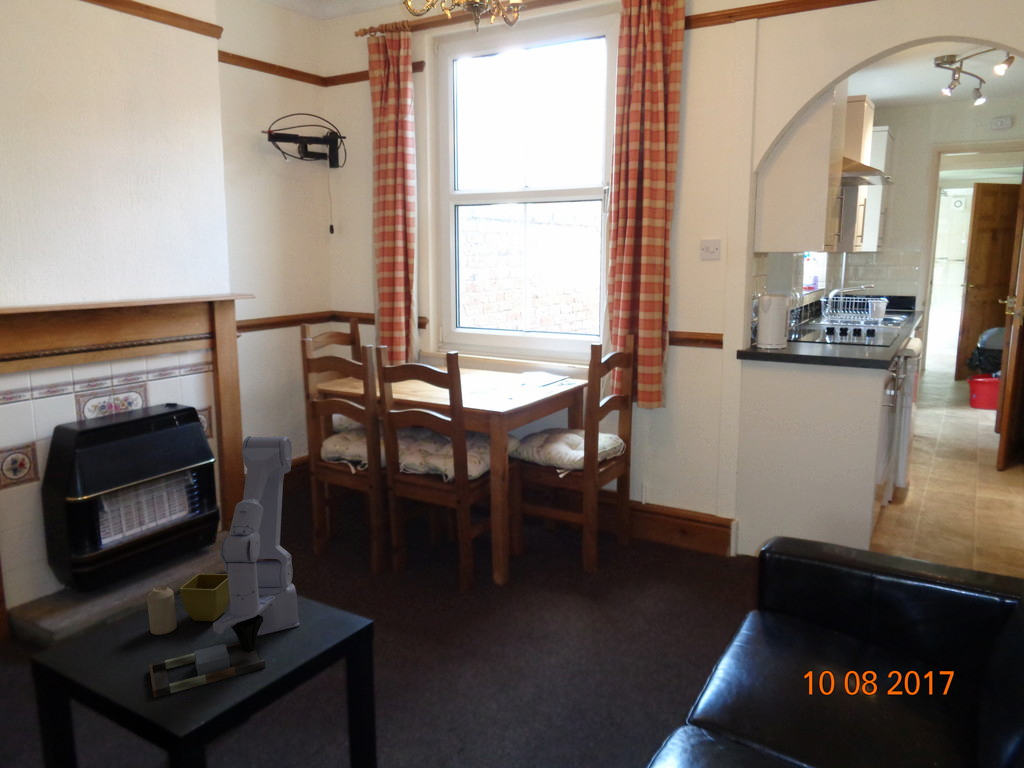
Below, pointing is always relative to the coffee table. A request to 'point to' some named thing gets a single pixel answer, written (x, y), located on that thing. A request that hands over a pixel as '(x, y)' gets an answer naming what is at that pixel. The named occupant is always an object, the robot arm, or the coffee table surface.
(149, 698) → the coffee table surface
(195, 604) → the flower pot
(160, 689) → the trap lane
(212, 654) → the block
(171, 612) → the candle
